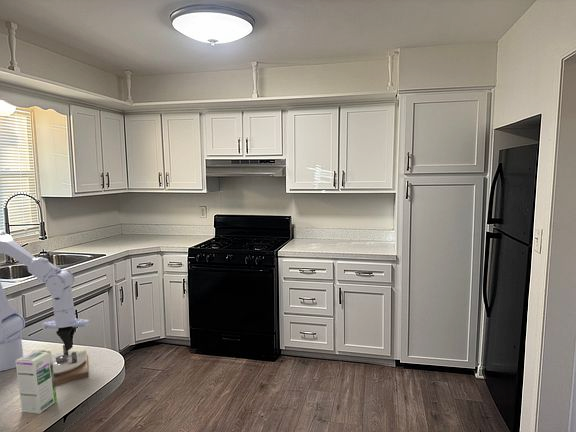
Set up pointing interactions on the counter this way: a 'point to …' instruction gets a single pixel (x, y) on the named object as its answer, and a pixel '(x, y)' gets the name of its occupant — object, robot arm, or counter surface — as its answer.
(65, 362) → the capstan dial
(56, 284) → the robot arm
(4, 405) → the counter surface
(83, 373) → the tan base board
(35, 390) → the syrup box
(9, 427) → the counter surface
